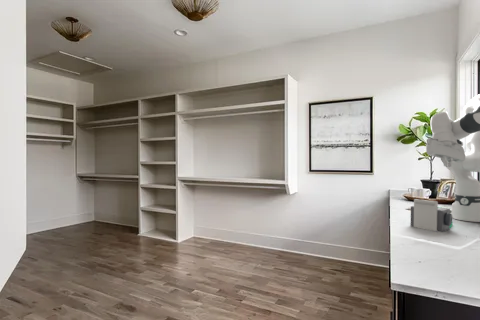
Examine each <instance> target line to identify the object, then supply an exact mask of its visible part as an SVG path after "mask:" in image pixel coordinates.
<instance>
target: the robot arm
mask: <svg viewBox="0 0 480 320" xmlns="http://www.w3.org/2000/svg"><path fill="white" fill-rule="evenodd" d="M462 112H463V114H464V115H463V116H461V117H459V118H458V119H456V120H453V119H452V118H451V117H450V116H449V113H448V112H447V111H441V112H437V113H436V114H433V115H432V116H431V118H430V130H431V132H432V137H428V138H426V145H425V146H426V154H427V155H428V156H432V157H434V158H435V157H436V158H439V159H440V161H441V162H442V163H443V167H445V168H446V169H448V170H449V171H450V173H452V176H453V177H454V180H455V196H454V202H453V203H452V204H451V211H450V213H451V214H452V219H455V220H458V221H463V222H471V223H472V222H475V223H480V181H479V180H478V179H477V178H474V176H473V175H472V173H473V172H475V173H480V93H479V94H477V95H475V96H474V97H473V98H471V99H470V100H469V101H468V102H467V103H466V105H464V107H463V111H462ZM466 137H467V139H466V141H465V144H466V147H467V148H468V149H469V150H470V152H466V151H465V149H464V147H463V146H464V142H463V141H461V140H462V139H464V138H466Z"/></svg>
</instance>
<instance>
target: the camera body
mask: <svg viewBox="0 0 480 320" xmlns="http://www.w3.org/2000/svg"><path fill="white" fill-rule="evenodd" d="M440 207H441V206H438V210H437V231H436V232H440V233H442V232H446V231H449V230H450V228H449V226H451V224H452V222H453V218H452V214H451V210H450V208H445V207H442V208H440ZM410 227H414V205H412V206H410ZM451 227H452V226H451Z"/></svg>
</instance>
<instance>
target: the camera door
mask: <svg viewBox="0 0 480 320" xmlns="http://www.w3.org/2000/svg"><path fill="white" fill-rule="evenodd" d="M438 205H439V202H438V201H434V200H425V199H417V198H414V199H413V206H414V226H413V228H416V229H417V228H418V229H422V230H427V231H432V232H438V231H437V210H438V207H439V206H438Z"/></svg>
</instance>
